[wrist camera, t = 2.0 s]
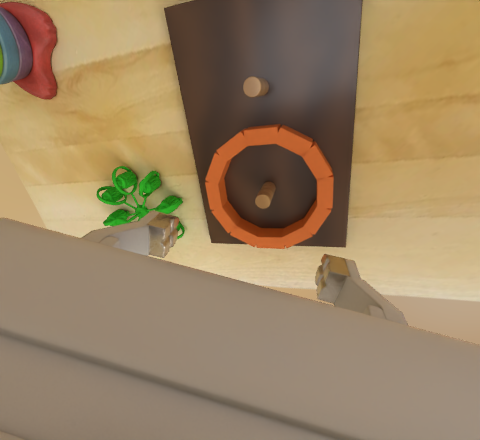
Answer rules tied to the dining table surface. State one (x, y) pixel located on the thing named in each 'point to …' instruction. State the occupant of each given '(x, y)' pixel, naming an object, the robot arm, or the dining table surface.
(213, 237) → the ring toss board
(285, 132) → the ring
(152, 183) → the chandelier
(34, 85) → the stacking bear
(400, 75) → the dining table surface
